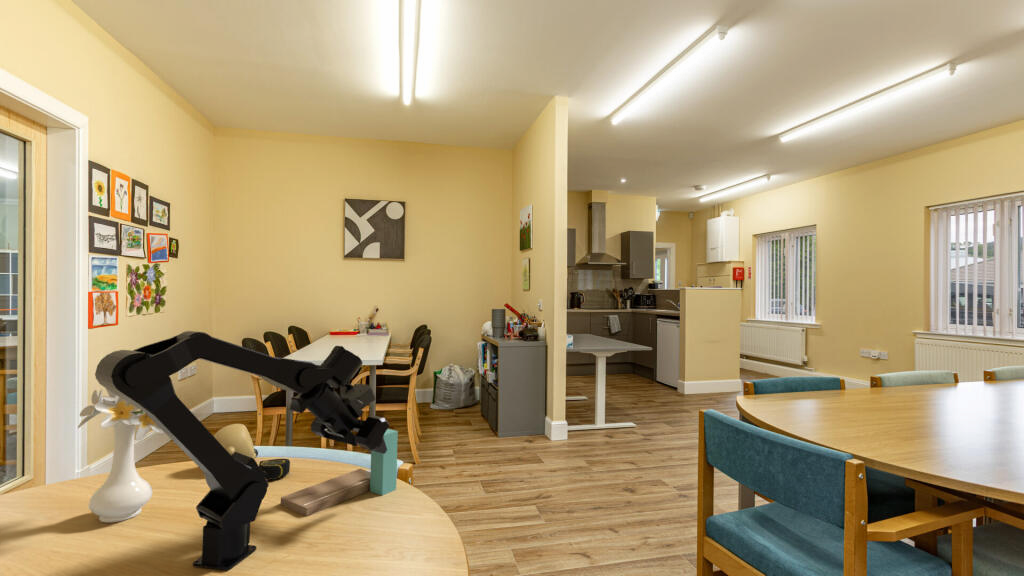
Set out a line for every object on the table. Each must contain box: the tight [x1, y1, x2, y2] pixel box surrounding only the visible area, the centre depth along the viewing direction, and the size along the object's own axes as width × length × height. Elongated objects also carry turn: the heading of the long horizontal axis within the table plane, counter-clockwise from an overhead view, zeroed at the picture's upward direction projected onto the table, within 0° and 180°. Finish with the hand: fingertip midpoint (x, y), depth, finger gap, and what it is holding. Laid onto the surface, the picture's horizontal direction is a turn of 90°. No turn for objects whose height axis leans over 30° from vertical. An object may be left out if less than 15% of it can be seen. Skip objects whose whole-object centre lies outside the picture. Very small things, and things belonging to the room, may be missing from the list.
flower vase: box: [77, 388, 166, 524], centre depth 88 cm, size 13×18×25 cm
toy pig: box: [213, 423, 259, 460], centre depth 115 cm, size 10×12×11 cm
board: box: [280, 468, 370, 517], centre depth 100 cm, size 20×9×2 cm, turn 147°
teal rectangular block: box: [365, 428, 399, 496], centre depth 103 cm, size 4×7×13 cm, turn 57°
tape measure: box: [258, 458, 291, 480], centre depth 108 cm, size 7×7×4 cm
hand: (371, 447), depth 99 cm, fingers open, 9 cm apart
